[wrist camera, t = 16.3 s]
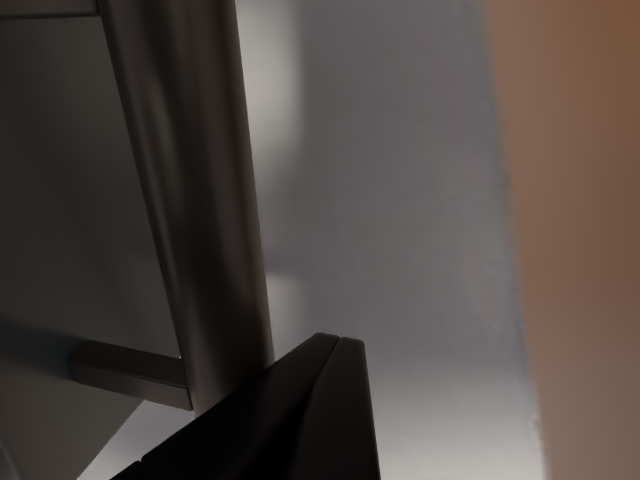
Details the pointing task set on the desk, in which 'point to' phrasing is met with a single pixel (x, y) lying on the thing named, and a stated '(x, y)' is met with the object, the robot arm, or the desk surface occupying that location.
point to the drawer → (122, 223)
